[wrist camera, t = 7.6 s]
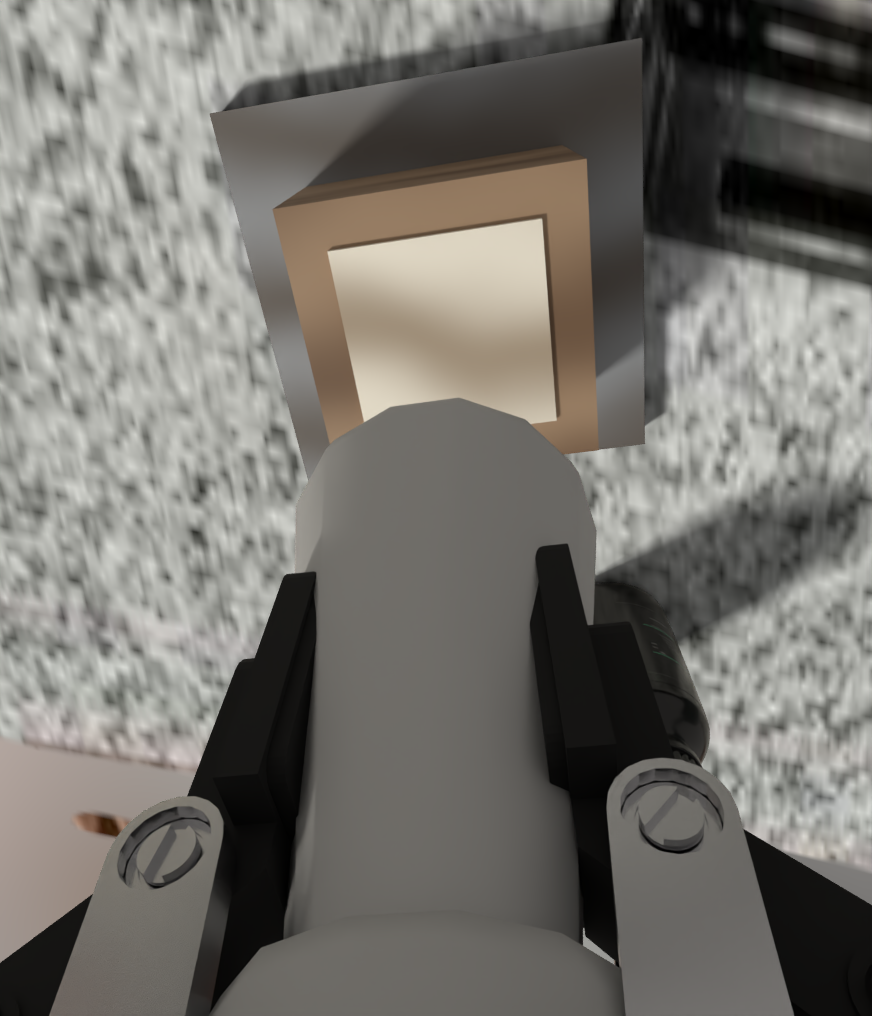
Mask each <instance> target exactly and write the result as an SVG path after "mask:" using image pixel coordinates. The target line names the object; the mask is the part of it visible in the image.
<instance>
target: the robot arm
mask: <svg viewBox="0 0 872 1016" xmlns="http://www.w3.org/2000/svg"><path fill="white" fill-rule="evenodd" d="M535 559H536V566H537V573H538V580H539V583H538V588H537V592H536V597H535V601H534V606H533V610H532V615H531V620H530V630H531V638H532V646H533V654H534V662H535V670H536V678H537V686H538V693H539V701H540V709H541V717H542V725H543V733H544V741H545V749H546V756H547V764H548V772H549V780H550V783H551V784H553V785H555V786H557V787H560V788H562V789H564V790H566V791H569V792H570V799H571V806H572V812H573V819H574V826H575V832H576V839H577V846H578V857H579V871H580V882H581V890H582V896H583V899H584V906H583V928H585V935H586V937H587V938H588V939H590V940H591V941H592V942H593V943H594V944H596V945H597V946H598V947H599V948H601V949H602V950H603V951H604V952H605V953H607V954H608V955H609V956H610V957H611V958H613V959H614V965H615V966H617V967H619V968H620V973H621V982H622V990H623V999H624V1009H625V1016H872V905H871V904H869V903H867V902H866V901H864V900H862V899H860V898H859V897H857V896H855V895H854V894H852V893H850V892H849V891H847V890H845V889H844V888H842V887H840V886H839V885H837V884H835V883H833V882H832V881H830V880H828V879H827V878H825V877H823V876H822V875H820V874H818V873H817V872H815V871H813V870H812V869H810V868H808V867H806V866H805V865H803V864H802V863H800V862H798V861H796V860H795V859H793V858H791V857H790V856H788V855H786V854H785V853H783V852H781V851H780V850H778V849H776V848H775V847H773V846H771V845H770V844H768V843H766V842H764V841H763V840H761V839H759V838H758V837H756V836H754V835H753V834H751V833H749V832H748V831H746V830H744V829H743V826H742V822H741V818H740V815H739V811H738V808H737V806H736V804H735V802H734V799H733V797H732V795H731V793H730V791H729V790H728V789H727V788H726V787H725V786H724V785H723V784H722V783H721V782H720V780H719V779H718V778H717V777H715V776H714V775H712V774H711V773H709V772H708V771H706V770H705V769H703V768H702V767H700V766H697V765H694V764H691V763H689V762H686V761H683V760H678V759H675V757H674V754H673V751H672V748H671V745H670V742H669V739H668V736H667V732H666V729H665V726H664V723H663V720H662V717H661V714H660V711H659V708H658V705H657V701H656V698H655V695H654V692H653V689H652V686H651V683H650V680H649V677H648V674H647V670H646V667H645V664H644V661H643V658H642V655H641V652H640V649H639V646H638V643H637V639H636V636H635V633H634V630H633V628H632V625H631V623H630V622H629V621H625V622H615V623H605V624H595V625H588V624H587V620H586V616H585V612H584V608H583V604H582V599H581V595H580V591H579V587H578V583H577V579H576V574H575V570H574V566H573V562H572V558H571V554H570V550H569V546H568V544H567V543H565V544H556V545H547V546H542V547H539V548H538V550H537V552H536V556H535ZM315 580H316V572H314V571H312V572H303V573H294V574H287V575H285V576H284V578H283V580H282V583H281V585H280V588H279V591H278V594H277V597H276V600H275V602H274V605H273V608H272V611H271V614H270V617H269V619H268V622H267V625H266V628H265V631H264V633H263V636H262V639H261V642H260V645H259V648H258V650H257V653H256V656H255V658H252V659H244V660H242V661H241V662H240V663H239V664H238V666H237V668H236V670H235V672H234V675H233V677H232V680H231V683H230V685H229V688H228V690H227V693H226V696H225V698H224V701H223V704H222V706H221V709H220V711H219V714H218V717H217V719H216V722H215V725H214V727H213V730H212V732H211V735H210V738H209V740H208V743H207V746H206V748H205V751H204V754H203V756H202V759H201V761H200V764H199V767H198V769H197V772H196V775H195V777H194V780H193V782H192V785H191V788H190V790H189V793H188V796H187V797H176V798H173V799H170V800H166V801H162V802H160V803H158V804H156V805H154V806H152V807H150V808H149V809H147V810H145V811H143V812H142V813H141V814H140V815H138V816H137V817H136V818H135V819H133V820H132V821H131V822H130V823H128V825H127V826H126V827H125V828H124V829H123V830H122V832H121V833H120V834H119V835H118V836H117V838H116V839H115V841H114V843H113V845H112V846H111V849H110V850H109V852H108V854H107V857H106V859H105V862H104V865H103V868H102V870H101V873H100V876H99V879H98V882H97V884H96V887H95V890H94V893H93V894H92V895H91V896H90V897H88V898H87V899H85V900H84V901H83V902H82V903H80V904H79V905H77V906H76V907H75V908H73V909H72V910H71V911H69V912H68V913H67V914H65V915H64V916H63V917H61V918H60V919H59V920H57V921H56V922H54V923H53V924H52V925H50V926H49V927H48V928H46V929H45V930H44V931H42V932H41V933H40V934H38V935H37V936H36V937H34V938H33V939H32V940H30V941H29V942H28V943H26V944H25V945H24V946H22V947H21V948H20V949H18V950H17V951H16V952H14V953H13V954H12V955H10V956H9V957H8V958H6V959H5V960H4V961H2V962H1V963H0V1016H209V1014H210V1013H211V1011H212V1009H213V1008H214V1006H215V1004H216V1003H217V1001H218V1000H219V998H220V996H221V995H222V994H223V992H224V991H225V990H226V989H227V988H228V987H229V985H230V984H231V983H232V982H233V981H234V979H235V978H236V977H237V976H238V975H239V973H240V972H241V971H242V970H243V969H244V967H245V966H246V965H247V964H248V963H249V961H250V960H251V959H252V958H253V957H254V955H255V954H256V953H257V952H258V951H259V949H260V948H262V947H265V946H267V945H270V944H273V943H276V942H278V941H281V940H284V916H285V910H286V899H287V888H288V878H289V867H290V856H291V844H292V841H293V839H294V836H295V833H296V817H297V816H298V811H299V802H300V792H301V783H302V774H303V764H304V755H305V745H306V736H307V727H308V717H309V708H310V699H311V689H312V680H313V669H314V657H315V646H316V635H317V630H316V607H315V599H314V589H315Z"/></svg>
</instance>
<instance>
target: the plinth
mask: <svg viewBox="0 0 872 1016" xmlns="http://www.w3.org/2000/svg"><path fill="white" fill-rule="evenodd" d="M210 117H211V121H212V124H213V128H214V132H215V136H216V139H217V143H218V147H219V150H220V154H221V158H222V162H223V165H224V169H225V173H226V176H227V180H228V184H229V188H230V191H231V195H232V199H233V202H234V206H235V210H236V214H237V217H238V221H239V225H240V228H241V232H242V236H243V240H244V243H245V247H246V251H247V254H248V258H249V262H250V266H251V269H252V273H253V277H254V280H255V284H256V288H257V292H258V295H259V299H260V303H261V306H262V310H263V314H264V318H265V321H266V325H267V329H268V332H269V336H270V340H271V344H272V347H273V351H274V355H275V358H276V362H277V366H278V370H279V373H280V377H281V381H282V384H283V388H284V392H285V396H286V399H287V403H288V407H289V410H290V414H291V418H292V422H293V425H294V429H295V433H296V436H297V440H298V444H299V448H300V451H301V455H302V459H303V462H304V466H305V470H306V474H307V477H308V481H309V479H310V478H311V476H312V474H313V472H314V470H315V468H316V466H317V465H318V463H319V461H320V459H321V457H322V455H323V454H324V452H325V450H326V449H327V448H328V446H329V445H330V444H331V443H332V442H333V441H334V440H335V439H337V438H339V437H340V436H342V435H344V434H345V433H347V432H349V431H351V430H352V429H354V428H356V427H357V426H359V425H361V424H362V423H364V422H366V421H367V420H369V419H371V418H372V417H374V416H376V415H377V414H379V413H381V412H383V411H384V410H386V409H388V408H389V407H392V406H400V405H407V404H414V403H422V402H429V401H437V400H444V399H451V398H462V399H465V400H468V401H471V402H474V403H477V404H480V405H484V406H487V407H490V408H493V409H496V410H499V411H502V412H505V413H508V414H511V415H514V416H517V417H520V418H523V419H526V420H527V421H528V422H529V423H530V424H531V425H532V426H533V427H534V428H535V429H536V430H537V431H538V432H540V433H541V434H542V435H543V436H544V437H545V438H546V439H547V440H548V441H549V442H550V443H551V444H552V445H553V446H555V447H556V448H557V449H558V450H559V451H560V452H561V453H562V454H570V453H579V452H587V451H595V450H599V449H607V448H615V447H623V446H632V445H640V444H645V414H644V266H643V117H642V38H638V39H632V40H627V41H621V42H615V43H609V44H604V45H598V46H592V47H587V48H581V49H575V50H570V51H564V52H558V53H552V54H547V55H541V56H535V57H530V58H524V59H518V60H513V61H507V62H501V63H495V64H490V65H484V66H478V67H473V68H467V69H461V70H456V71H450V72H444V73H438V74H433V75H427V76H421V77H416V78H410V79H404V80H399V81H393V82H387V83H382V84H376V85H370V86H364V87H359V88H353V89H347V90H342V91H336V92H330V93H325V94H319V95H313V96H307V97H302V98H296V99H290V100H285V101H279V102H273V103H268V104H262V105H256V106H250V107H245V108H239V109H233V110H228V111H222V112H216V113H211V114H210Z"/></svg>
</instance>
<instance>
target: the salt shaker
mask: <svg viewBox="0 0 872 1016" xmlns="http://www.w3.org/2000/svg"><path fill="white" fill-rule="evenodd" d="M565 543H567V544H568V546H569V550H570V554H571V558H572V562H573V566H574V570H575V574H576V579H577V583H578V587H579V591H580V595H581V599H582V604H583V608H584V612H585V616H586V620H587V624H588V625H593V618H594V589H595V560H596V528H595V524H594V521H593V518H592V515H591V511H590V508H589V505H588V502H587V498H586V495H585V492H584V489H583V485H582V482H581V479H580V475H579V473H578V471H577V470H576V468H575V467H574V465H573V464H572V462H571V461H570V460H568V459H567V458H566V457H565V456H564V455H563V454H562V453H561V452H560V451H559V450H558V449H557V448H556V447H555V446H553V445H552V444H551V443H550V442H549V441H548V440H547V439H546V438H545V437H544V436H543V435H542V434H541V433H540V432H538V431H537V430H536V429H535V428H534V427H533V426H532V425H531V424H530V423H529V422H528V421H527V420H526V419H523V418H520V417H517V416H514V415H511V414H508V413H505V412H502V411H499V410H496V409H493V408H490V407H487V406H484V405H480V404H477V403H474V402H471V401H468V400H465V399H462V398H451V399H444V400H437V401H429V402H422V403H414V404H407V405H400V406H392V407H389V408H388V409H386V410H384V411H383V412H381V413H379V414H377V415H376V416H374V417H372V418H371V419H369V420H367V421H366V422H364V423H362V424H361V425H359V426H357V427H356V428H354V429H352V430H351V431H349V432H347V433H345V434H344V435H342V436H340V437H339V438H337V439H335V440H334V441H333V442H332V443H331V444H330V445H329V446H328V448H327V449H326V450H325V452H324V454H323V455H322V457H321V459H320V461H319V463H318V465H317V466H316V468H315V470H314V472H313V474H312V476H311V478H310V479H309V481H308V483H307V485H306V487H305V489H304V490H303V492H302V494H301V496H300V498H299V500H298V502H297V503H296V539H295V573H303V572H312V571H314V572H316V580H315V589H314V599H315V607H316V630H317V635H316V646H315V657H314V669H313V680H312V689H311V699H310V708H309V717H308V727H307V736H306V745H305V755H304V764H303V774H302V783H301V792H300V802H299V811H298V816H297V817H296V833H295V836H294V839H293V841H292V844H291V856H290V867H289V878H288V888H287V899H286V910H285V916H284V940H281V941H278V942H276V943H273V944H270V945H267V946H265V947H262V948H260V949H259V951H258V952H257V953H256V954H255V955H254V957H253V958H252V959H251V960H250V961H249V963H248V964H247V965H246V966H245V967H244V969H243V970H242V971H241V972H240V973H239V975H238V976H237V977H236V978H235V979H234V981H233V982H232V983H231V984H230V985H229V987H228V988H227V989H226V990H225V991H224V992H223V994H222V995H221V996H220V998H219V1000H218V1001H217V1003H216V1004H215V1006H214V1008H213V1009H212V1011H211V1013H210V1014H209V1016H625V1009H624V999H623V990H622V982H621V973H620V968H619V967H617V966H615V965H614V964H612V963H610V962H609V961H607V960H605V959H604V958H602V957H600V956H598V955H597V954H595V953H594V952H592V951H590V950H589V949H587V948H586V947H584V946H583V906H584V899H583V896H582V890H581V882H580V871H579V857H578V846H577V839H576V832H575V826H574V819H573V812H572V806H571V799H570V792H569V791H566V790H564V789H562V788H560V787H557V786H555V785H553V784H551V783H550V780H549V772H548V764H547V756H546V749H545V741H544V733H543V725H542V717H541V709H540V701H539V693H538V686H537V678H536V670H535V662H534V654H533V646H532V638H531V630H530V620H531V615H532V610H533V606H534V601H535V597H536V592H537V588H538V583H539V580H538V573H537V566H536V559H535V556H536V552H537V550H538V548H539V547H542V546H547V545H556V544H565Z"/></svg>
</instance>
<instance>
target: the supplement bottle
mask: <svg viewBox="0 0 872 1016" xmlns="http://www.w3.org/2000/svg"><path fill="white" fill-rule="evenodd" d="M625 621H629V622H630V623H631V625H632V628H633V630H634V633H635V636H636V639H637V643H638V646H639V649H640V652H641V655H642V658H643V661H644V664H645V667H646V670H647V674H648V677H649V680H650V683H651V686H652V689H653V692H654V695H655V698H656V701H657V705H658V708H659V711H660V714H661V717H662V720H663V723H664V726H665V729H666V732H667V736H668V739H669V742H670V745H671V748H672V751H673V754H674V757H675V759H678V760H683V761H686V762H689V763H691V764H694V765H697V766H700V767H702V765H701V764H702V762H703V760H704V758H705V756H706V753H707V750H708V746H709V741H710V729H709V724H708V721H707V718H706V715H705V712H704V709H703V707H702V704H701V702H700V699H699V697H698V694H697V691H696V689H695V686H694V684H693V681H692V679H691V676H690V674H689V671H688V669H687V666H686V664H685V661H684V659H683V656H682V654H681V651H680V649H679V646H678V644H677V641H676V639H675V636H674V633H673V631H672V628H671V626H670V624H669V621H668V619H667V617H666V614H665V612H664V610H663V609H662V607H661V606H660V604H659V603H658V602H657V601H656V600H655V599H654V598H653V597H652V596H651V595H650V594H648V593H647V592H645V591H643V590H641V589H639V588H637V587H634V586H631V585H627V584H622V583H599V584H595V589H594V618H593V625H595V624H605V623H615V622H625Z"/></svg>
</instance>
